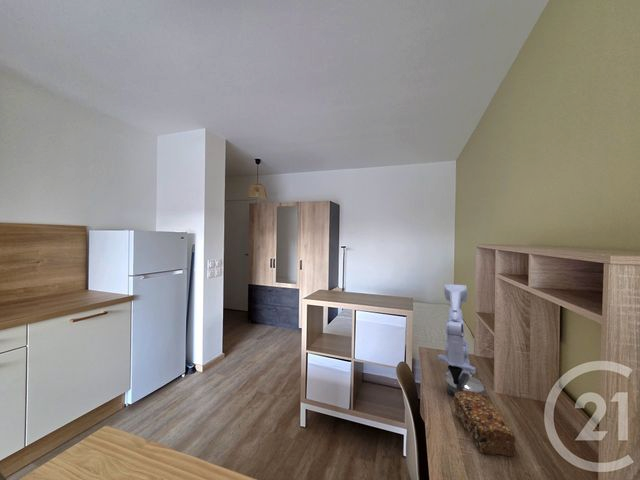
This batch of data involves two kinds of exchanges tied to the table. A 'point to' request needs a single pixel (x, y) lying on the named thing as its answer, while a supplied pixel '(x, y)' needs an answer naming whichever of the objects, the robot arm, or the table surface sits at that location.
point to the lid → (466, 383)
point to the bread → (484, 424)
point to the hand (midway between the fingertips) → (456, 383)
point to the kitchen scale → (453, 390)
